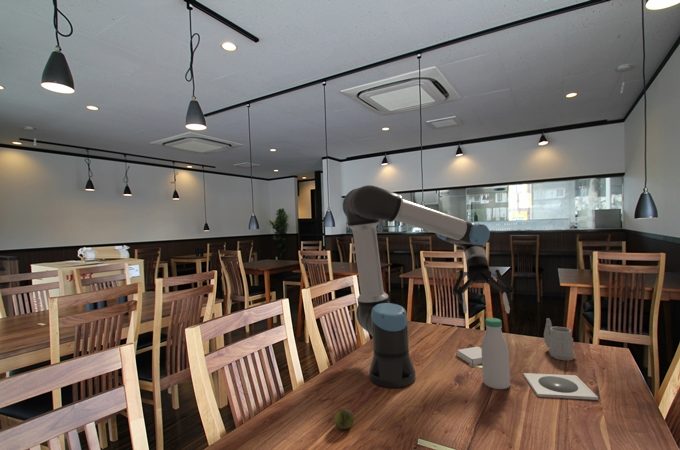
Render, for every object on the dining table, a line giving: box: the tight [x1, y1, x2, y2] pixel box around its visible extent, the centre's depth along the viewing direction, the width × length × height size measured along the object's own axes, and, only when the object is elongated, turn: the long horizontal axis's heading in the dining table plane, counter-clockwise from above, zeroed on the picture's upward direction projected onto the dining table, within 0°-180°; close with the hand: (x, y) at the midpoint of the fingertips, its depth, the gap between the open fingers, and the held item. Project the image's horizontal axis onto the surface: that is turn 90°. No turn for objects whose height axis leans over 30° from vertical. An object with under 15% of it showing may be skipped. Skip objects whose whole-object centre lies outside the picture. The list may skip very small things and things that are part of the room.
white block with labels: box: [455, 343, 482, 366], centre depth 124 cm, size 20×12×3 cm, turn 15°
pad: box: [523, 372, 599, 401], centre depth 101 cm, size 15×13×1 cm
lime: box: [334, 408, 355, 430], centre depth 86 cm, size 4×5×5 cm
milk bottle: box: [481, 317, 511, 390], centre depth 104 cm, size 8×8×20 cm
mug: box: [543, 317, 576, 362], centre depth 123 cm, size 8×12×12 cm, turn 8°
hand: (486, 311), depth 115 cm, fingers open, 13 cm apart
